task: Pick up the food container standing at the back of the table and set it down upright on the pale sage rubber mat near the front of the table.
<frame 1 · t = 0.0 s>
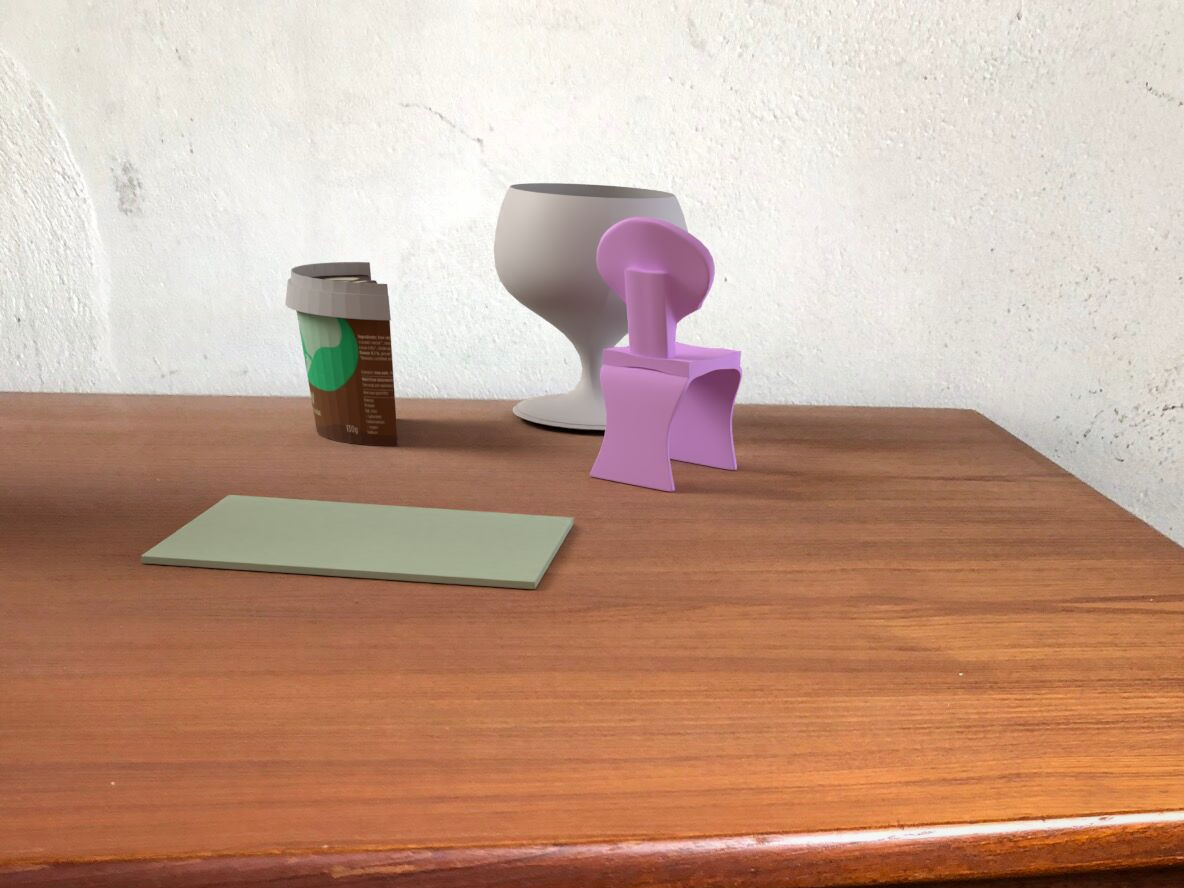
food container: (345, 434, 104), on the table
toy chair: (666, 475, 99), on the table
chalice: (594, 421, 113), on the table
mat: (372, 542, 82), on the table
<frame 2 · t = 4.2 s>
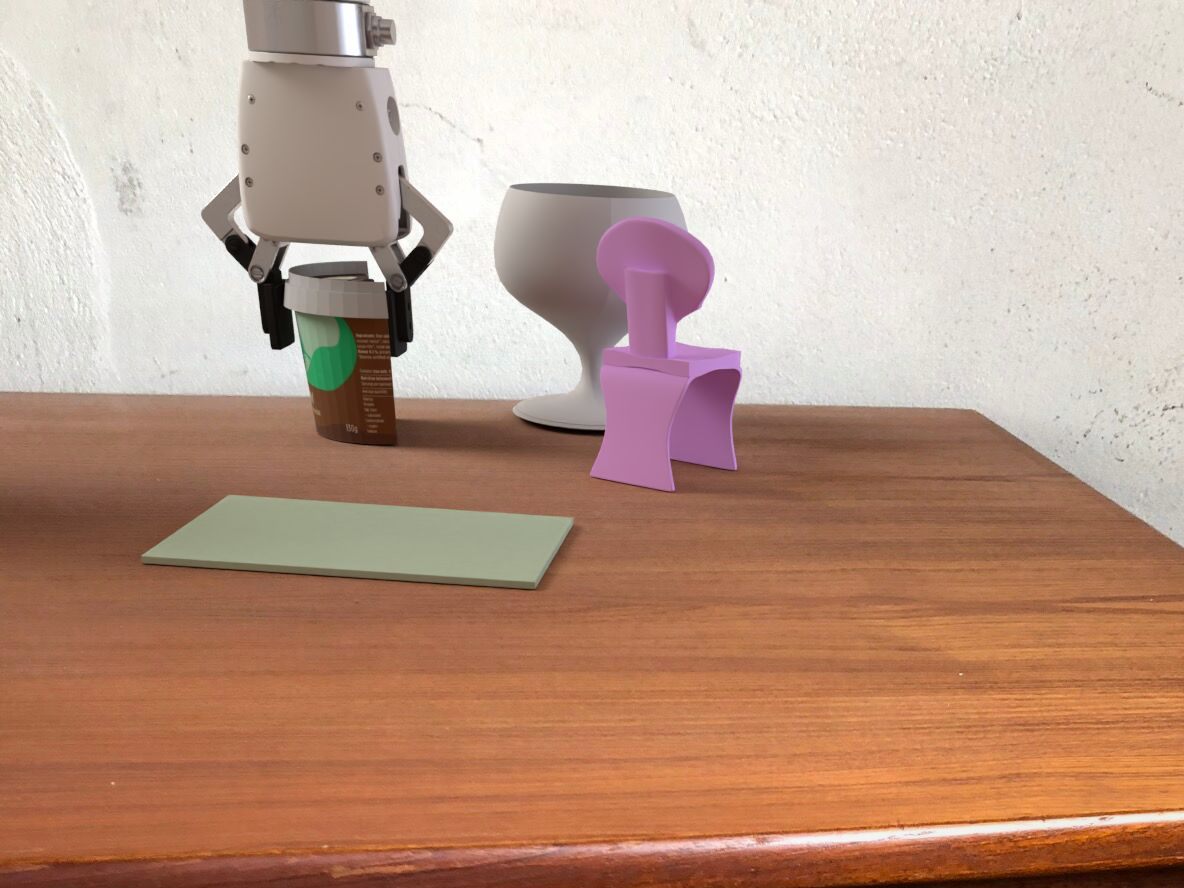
hand: (339, 348, 102), 5 cm above the table, tool pointing down, fingers closed on food container, 7 cm apart
food container: (345, 433, 104), on the table, touching gripper
everything else where it was.
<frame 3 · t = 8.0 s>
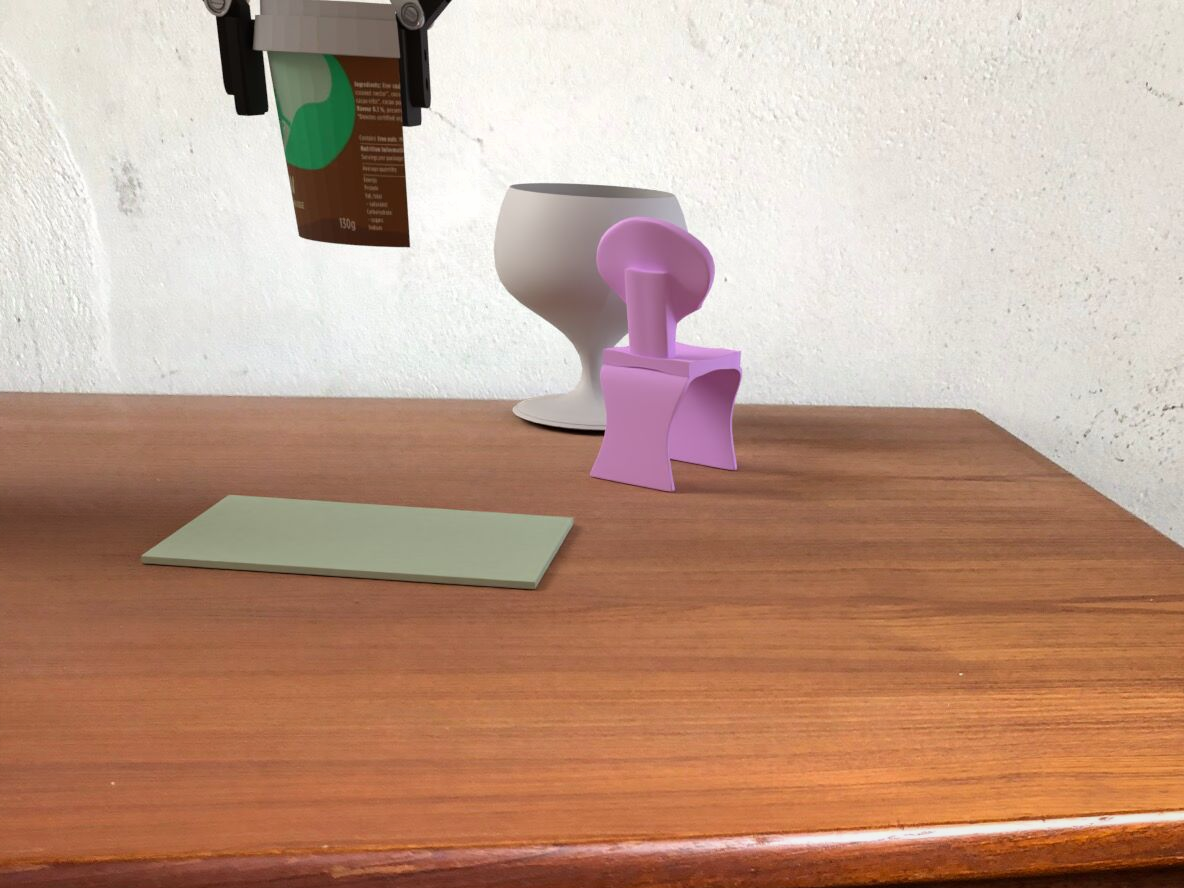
hand: (330, 117, 75), 20 cm above the table, tool pointing down, fingers closed on food container, 7 cm apart
food container: (337, 240, 77), point 14 cm above the table, touching gripper
everything else where it was.
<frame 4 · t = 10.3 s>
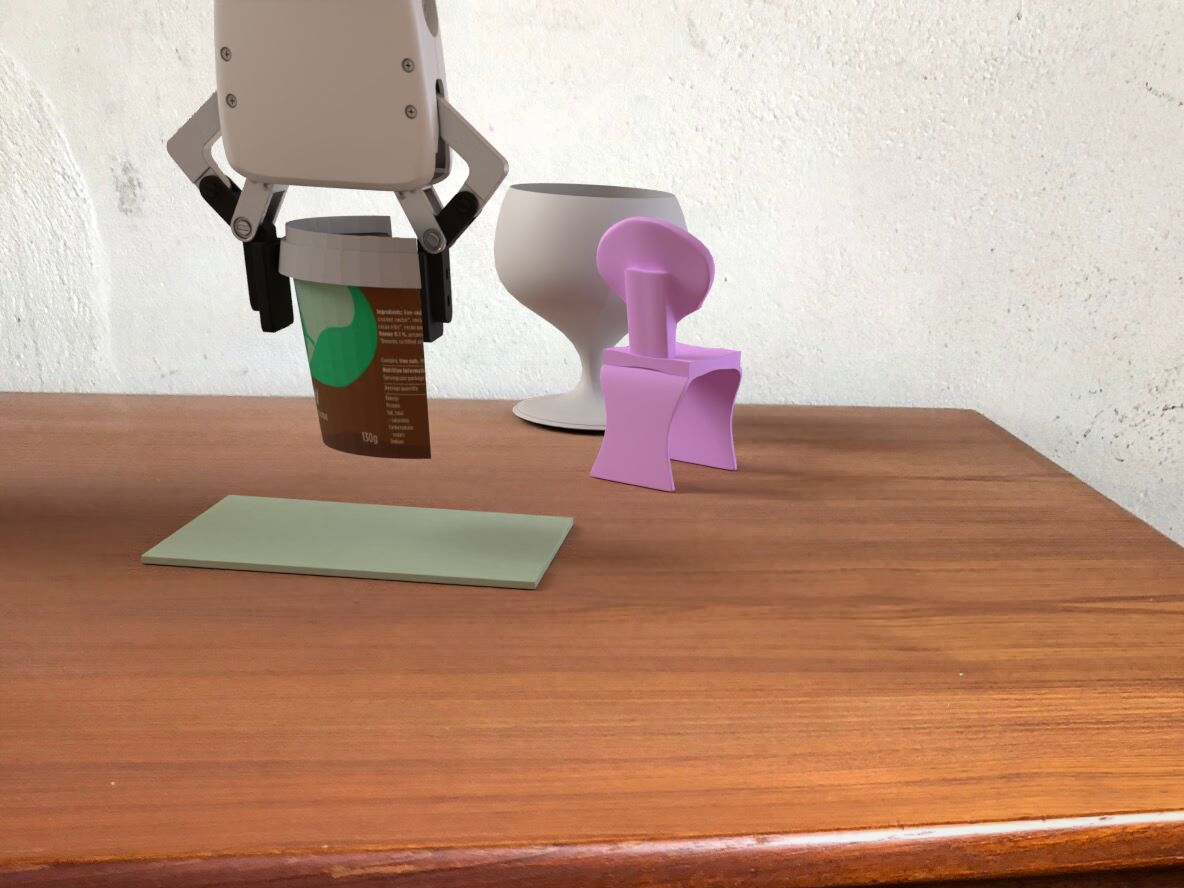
hand: (354, 330, 76), 11 cm above the table, tool pointing down, fingers closed on food container, 7 cm apart
food container: (360, 444, 79), point 5 cm above the table, touching gripper
everything else where it was.
when the fingers open (6 cm above the table, at t = 12.1 s): food container stays where it is, resting on mat.
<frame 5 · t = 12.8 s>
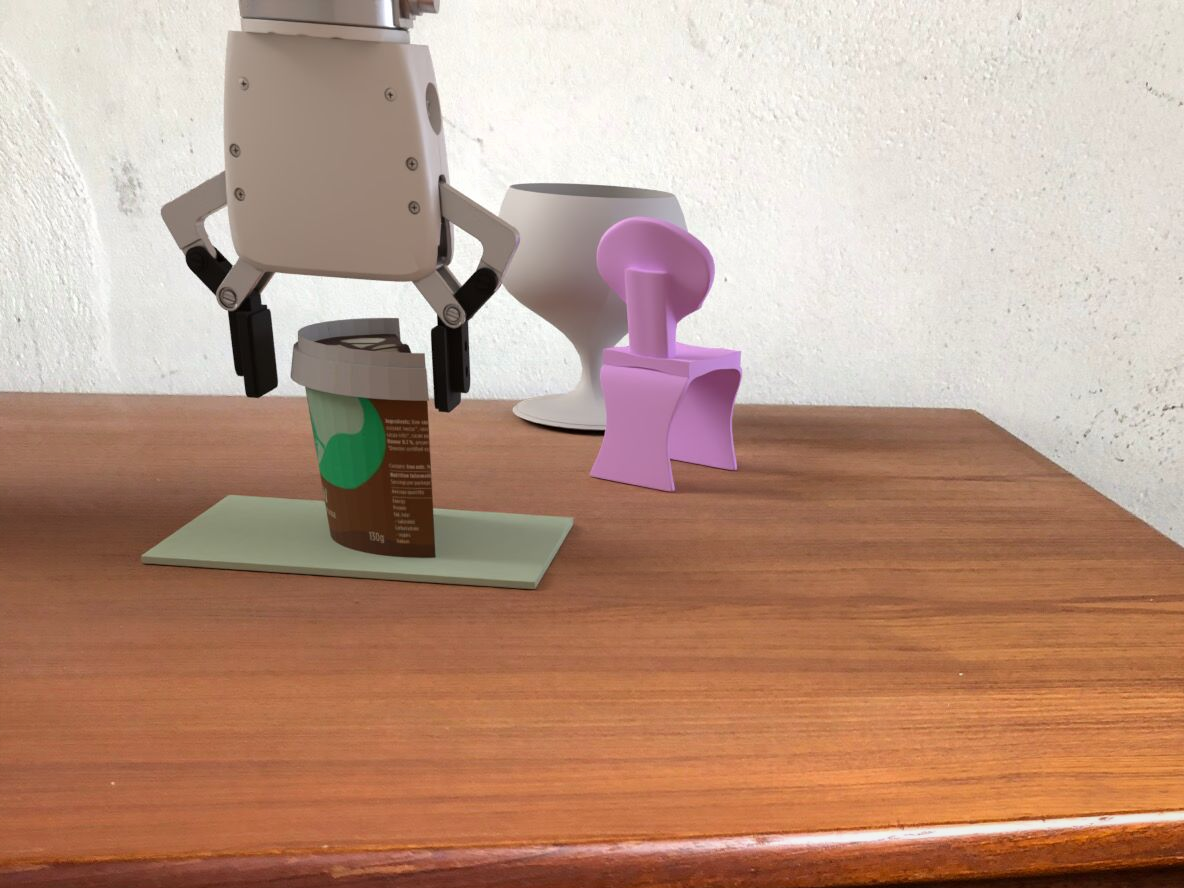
hand: (355, 400, 78), 7 cm above the table, tool pointing down, fingers open, 9 cm apart
food container: (367, 538, 81), resting on mat
everything else where it was.
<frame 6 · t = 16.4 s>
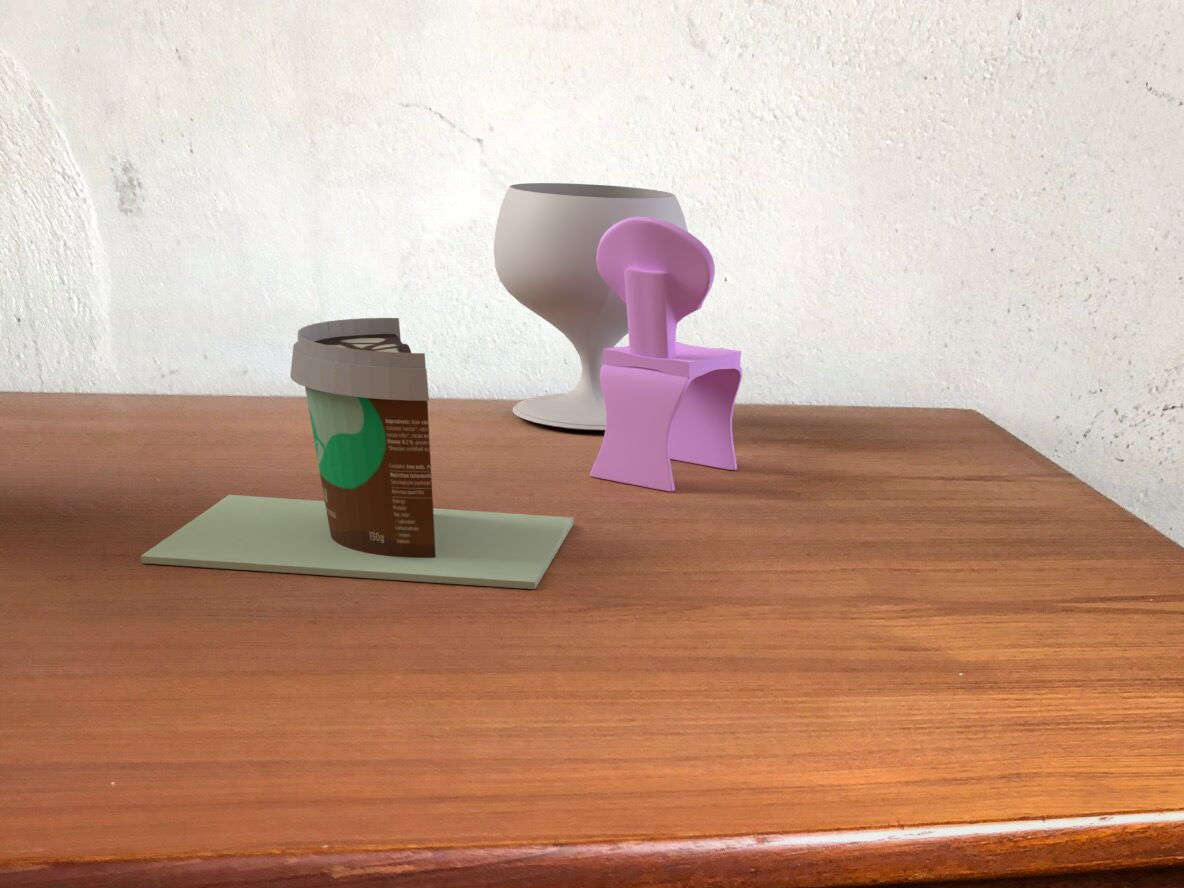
nothing on the table moved.
at the end: food container inside the target area on the mat (0.2 cm from its centre), point 0.2 cm above the mat's base; food container tilted 0°; the gripper is holding nothing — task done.
